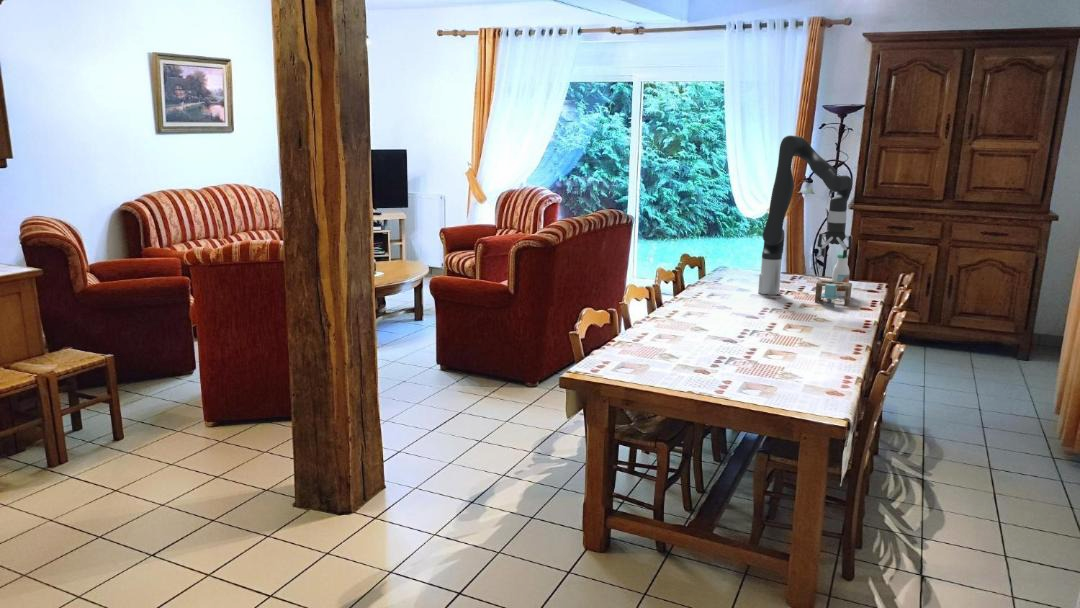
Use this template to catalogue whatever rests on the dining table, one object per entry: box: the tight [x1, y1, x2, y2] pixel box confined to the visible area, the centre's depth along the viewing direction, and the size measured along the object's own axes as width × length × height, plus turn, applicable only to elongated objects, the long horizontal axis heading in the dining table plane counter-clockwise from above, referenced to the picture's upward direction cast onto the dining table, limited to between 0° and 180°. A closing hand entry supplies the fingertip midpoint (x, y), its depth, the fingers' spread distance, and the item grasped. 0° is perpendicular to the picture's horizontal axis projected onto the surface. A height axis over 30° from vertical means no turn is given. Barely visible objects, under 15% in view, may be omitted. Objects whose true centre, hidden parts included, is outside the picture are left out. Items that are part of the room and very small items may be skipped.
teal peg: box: [821, 284, 840, 308], centre depth 346 cm, size 7×7×10 cm
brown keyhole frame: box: [814, 279, 853, 307], centre depth 354 cm, size 14×9×9 cm, turn 60°
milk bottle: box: [831, 253, 850, 298], centre depth 368 cm, size 8×8×20 cm
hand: (833, 257), depth 343 cm, fingers open, 8 cm apart
